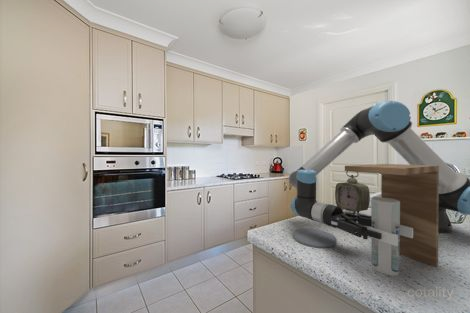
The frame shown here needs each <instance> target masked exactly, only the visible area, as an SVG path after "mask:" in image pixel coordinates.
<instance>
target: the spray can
mask: <svg viewBox="0 0 470 313" xmlns="http://www.w3.org/2000/svg"><path fill="white" fill-rule="evenodd" d="M370 200H371V201H370V202H371V203H370V204H371V205H370V206H371V208H370V209H371V210H370V211H371V215H370V216H371V224H372V228H376V229H379V230H383V231H386V232H389V233H393V234H396V235H398V246H395V245H392V244H388V243H385V242H382V241H379V240H376V239H373V238H371V267H372V269H374V270H375V271H377V272H378V273H381V274H383V275H385V276H386V275H387V276H395V277H397V276H398V275H399V274H400V254H399V247H400V201H399V200H396V199H391V198H382V197H380V196H379V197H377V196H375V197H372V198H371V199H370Z"/></svg>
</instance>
